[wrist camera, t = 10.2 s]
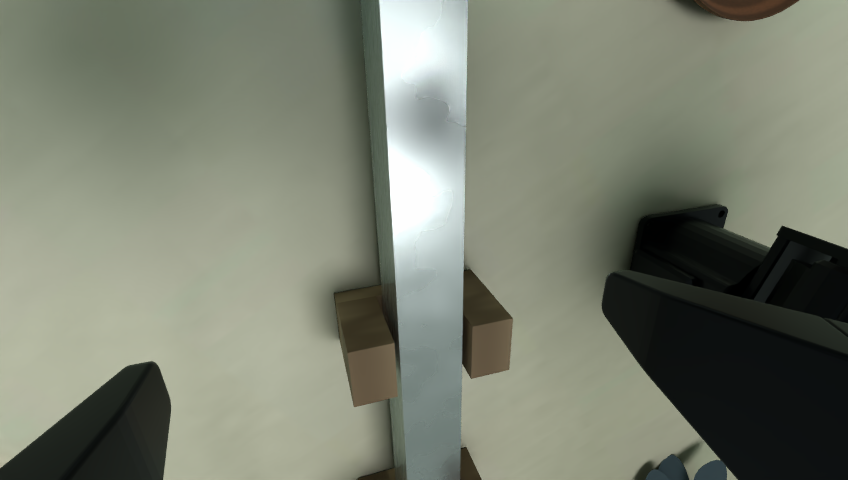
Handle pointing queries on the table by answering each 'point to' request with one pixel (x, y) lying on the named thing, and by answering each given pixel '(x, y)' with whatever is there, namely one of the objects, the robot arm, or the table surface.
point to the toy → (674, 476)
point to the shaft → (420, 217)
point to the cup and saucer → (745, 8)
